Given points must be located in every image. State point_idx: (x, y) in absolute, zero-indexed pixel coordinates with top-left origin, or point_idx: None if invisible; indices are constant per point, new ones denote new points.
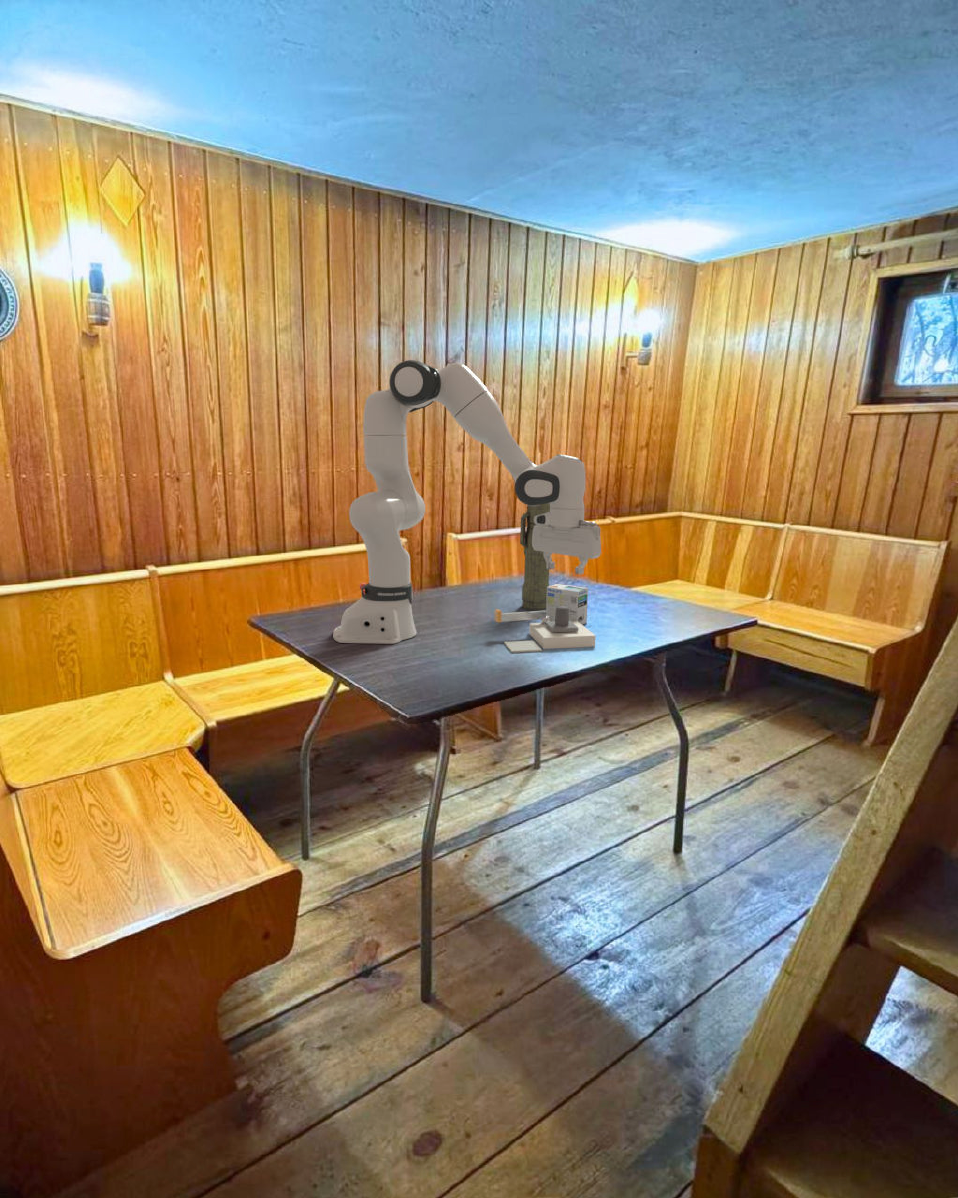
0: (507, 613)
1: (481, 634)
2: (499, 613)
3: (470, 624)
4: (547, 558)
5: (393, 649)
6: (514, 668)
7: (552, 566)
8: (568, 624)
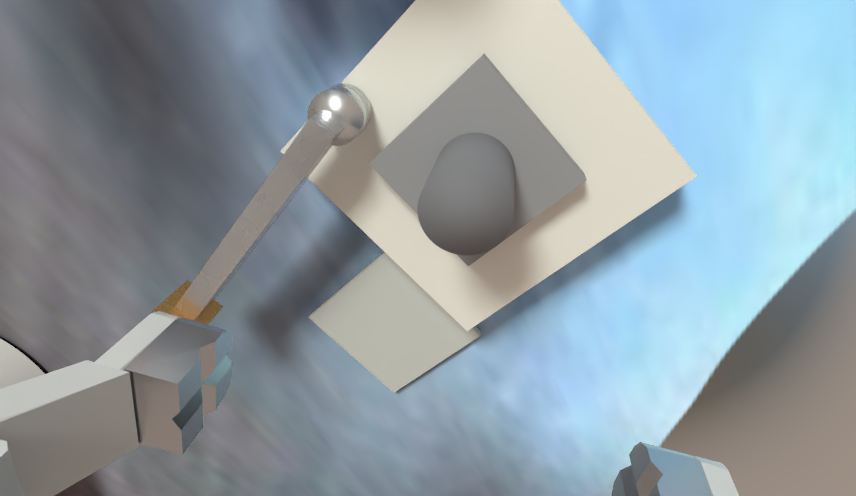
0: (202, 290)
1: (167, 254)
2: None
3: (23, 150)
4: (60, 475)
5: (123, 481)
6: (481, 491)
7: (205, 376)
8: (513, 162)
